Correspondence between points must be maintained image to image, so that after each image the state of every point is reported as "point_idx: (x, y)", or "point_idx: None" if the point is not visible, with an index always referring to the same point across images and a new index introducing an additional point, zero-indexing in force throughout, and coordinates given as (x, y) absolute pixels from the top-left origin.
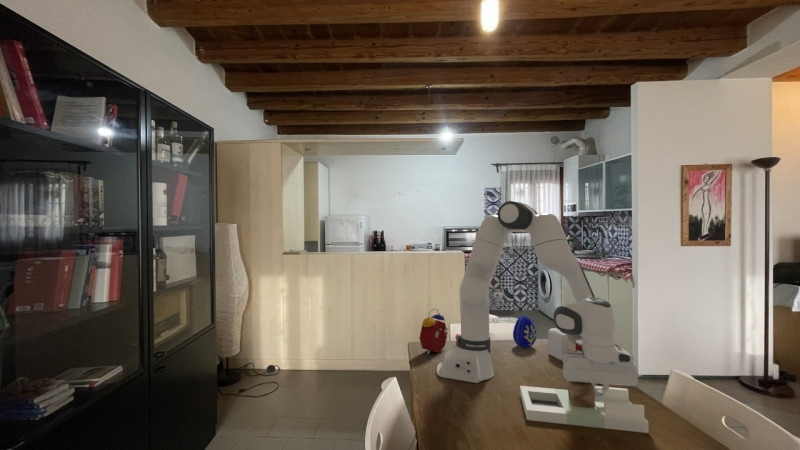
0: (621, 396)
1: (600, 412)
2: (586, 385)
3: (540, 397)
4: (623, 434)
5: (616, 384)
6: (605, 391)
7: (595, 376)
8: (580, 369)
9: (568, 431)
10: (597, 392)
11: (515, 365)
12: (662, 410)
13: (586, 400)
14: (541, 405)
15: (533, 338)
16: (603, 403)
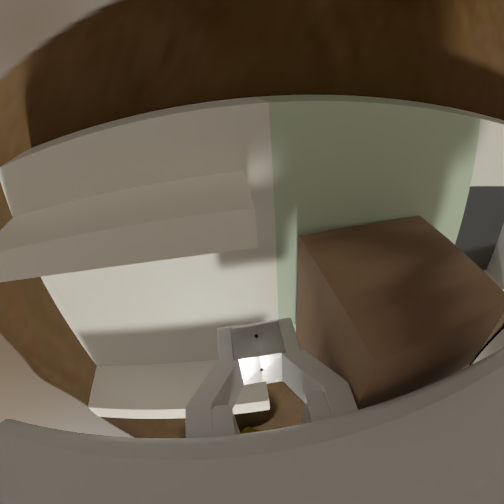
0: (122, 378)
1: (276, 181)
2: (419, 360)
3: None
4: (155, 65)
5: (119, 441)
6: (218, 371)
7: (357, 486)
8: (501, 471)
9: (446, 45)
10: (283, 350)
11: None
12: (21, 345)
13: (376, 252)
14: (474, 239)
15: None
16: (221, 310)
